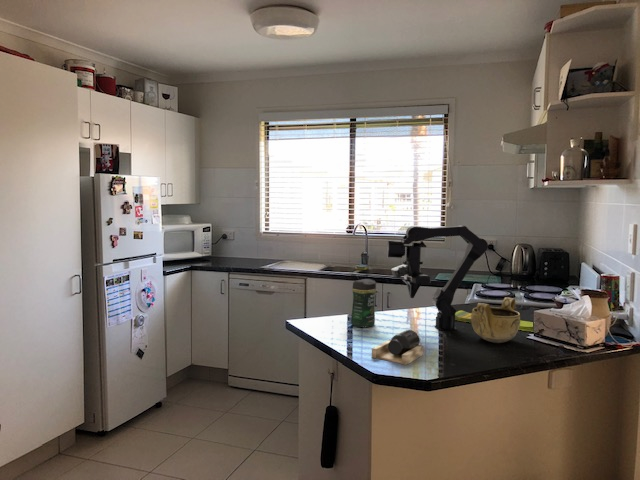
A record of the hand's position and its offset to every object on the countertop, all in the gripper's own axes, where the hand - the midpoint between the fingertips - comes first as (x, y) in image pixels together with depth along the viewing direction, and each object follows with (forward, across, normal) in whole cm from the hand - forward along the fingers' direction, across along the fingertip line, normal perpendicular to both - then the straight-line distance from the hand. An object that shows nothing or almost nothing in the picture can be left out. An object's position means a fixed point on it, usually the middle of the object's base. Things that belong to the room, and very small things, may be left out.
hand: (411, 297), depth 204 cm
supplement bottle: (+8, +28, -14) cm, 33 cm away
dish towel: (+13, 0, +39) cm, 41 cm away
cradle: (+12, +32, -21) cm, 40 cm away
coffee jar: (+12, -8, -17) cm, 22 cm away
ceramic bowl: (+12, +23, +22) cm, 34 cm away
